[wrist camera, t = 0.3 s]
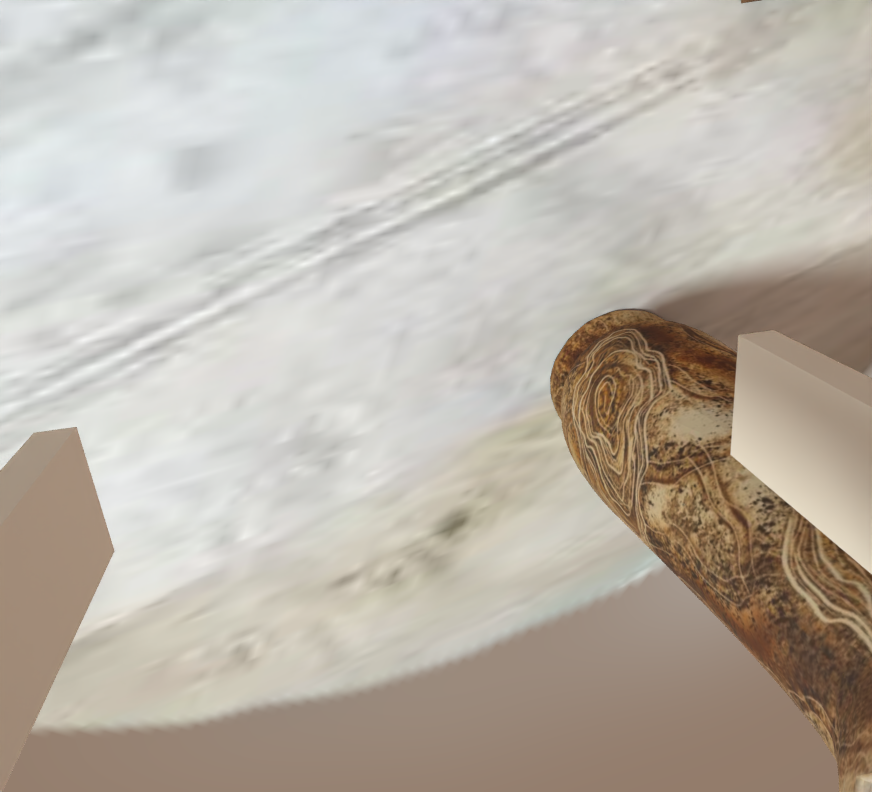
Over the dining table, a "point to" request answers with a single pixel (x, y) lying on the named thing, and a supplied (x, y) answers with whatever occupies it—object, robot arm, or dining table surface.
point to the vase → (720, 516)
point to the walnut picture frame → (744, 0)
